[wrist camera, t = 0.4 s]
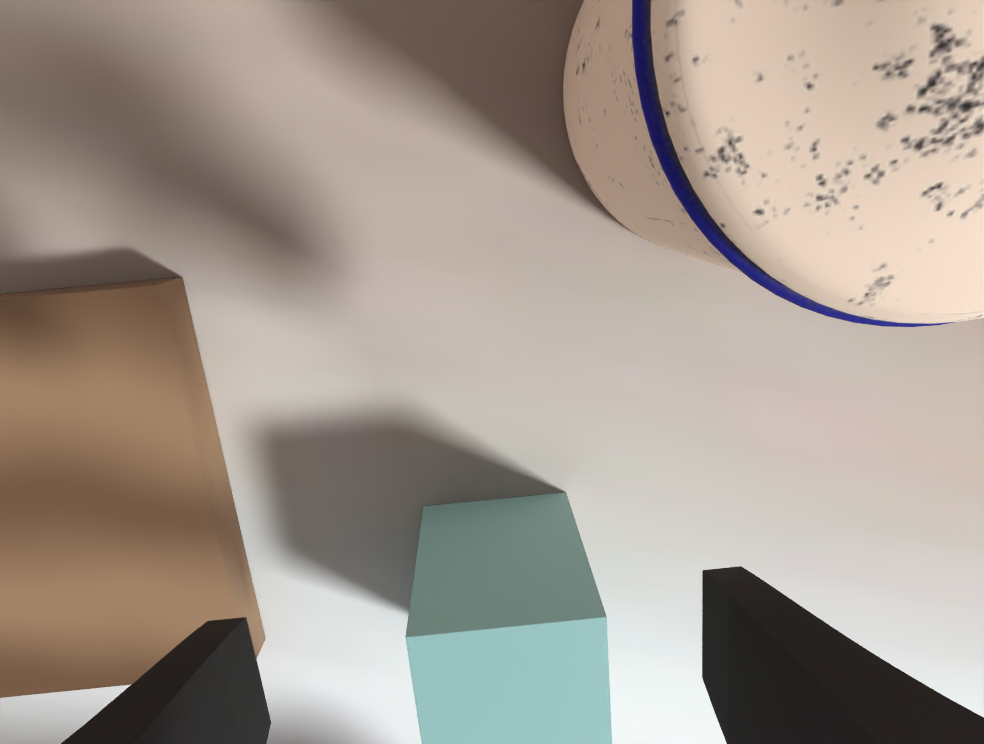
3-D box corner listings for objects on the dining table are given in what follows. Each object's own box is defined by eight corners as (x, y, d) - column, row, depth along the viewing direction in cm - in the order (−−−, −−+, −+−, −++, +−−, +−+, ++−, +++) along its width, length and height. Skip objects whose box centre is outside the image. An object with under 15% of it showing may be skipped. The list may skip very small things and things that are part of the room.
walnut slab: (265, 638, 21) (250, 672, 19) (-100, 675, 21) (-142, 712, 19) (182, 277, 17) (156, 285, 16) (-256, 318, 17) (-322, 330, 16)
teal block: (573, 612, 21) (612, 772, 15) (439, 626, 21) (429, 791, 15) (565, 491, 20) (606, 617, 14) (423, 505, 20) (405, 637, 14)
